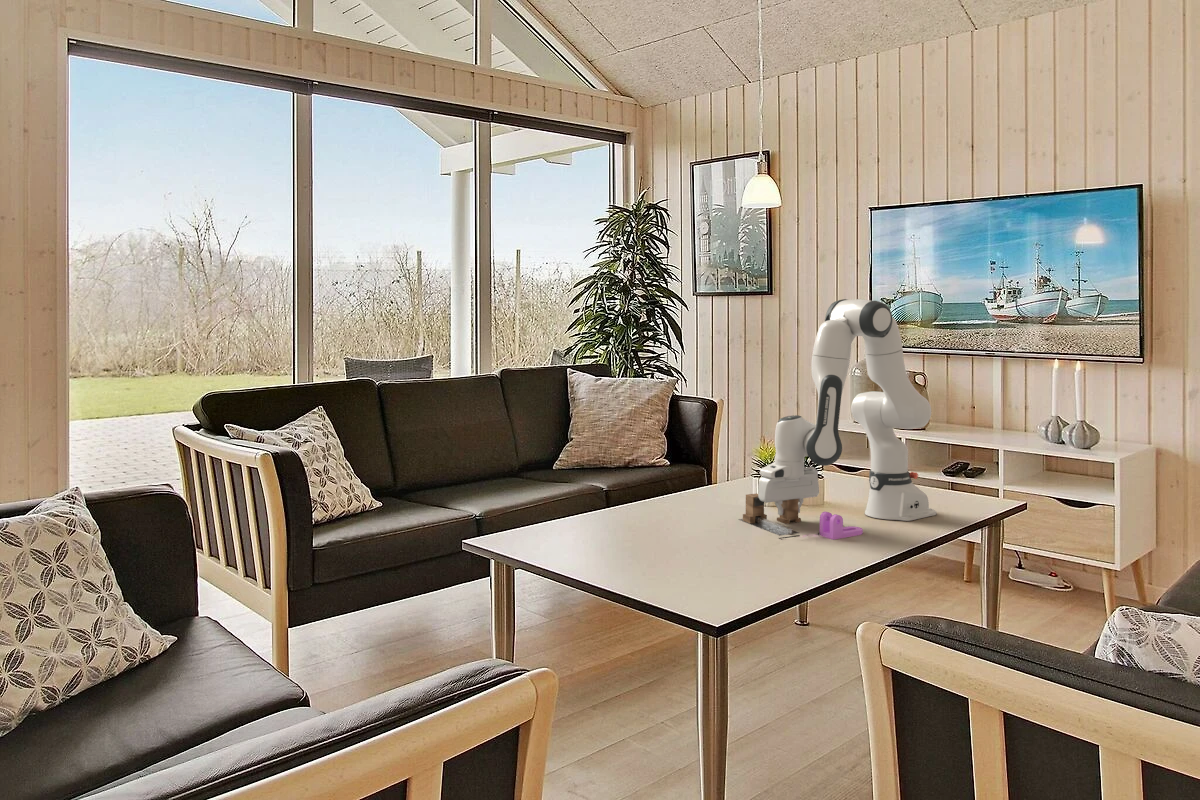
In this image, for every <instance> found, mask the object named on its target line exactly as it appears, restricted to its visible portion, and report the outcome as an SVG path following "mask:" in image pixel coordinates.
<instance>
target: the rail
mask: <svg viewBox="0 0 1200 800" xmlns="http://www.w3.org/2000/svg"><path fill="white" fill-rule="evenodd" d="M738 521H740V522H743V523H746V524H749V525H751V526H754V527H756V528H759V529H761V530H764V531H767V532H770V533H772V534H775V535H777V536H779V537H778V539H779V540H780V539H781V540H782V539H788V538H795V537H800V536H801V534H800V532H798V531H796V530H793V529H792V528H791V527H788V526H785V525H783V524H779V522H778V523H777V522H775V521H772V520H769V519H764V518H761V517H758V516H755V523H748V522H745V521H743V518H739V519H738ZM795 534H798V535H795ZM787 535H789V536H787ZM790 535H791V536H790ZM780 536H781V537H780Z"/></svg>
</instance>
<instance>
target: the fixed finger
mask: <svg viewBox="0 0 1200 800" xmlns="http://www.w3.org/2000/svg"><path fill="white" fill-rule="evenodd" d="M755 516H758V517H761V518H764V519H767V518H768V515H767V514H766V513H765V502H763V501H761V500H760V499H759V497H758V492H757V493H749V494H745V513H743V514H742V519H743V521H745V522H748V523H755ZM767 520H768V519H767ZM743 521H742V522H743ZM745 522H744V523H745ZM748 523H747V524H748Z"/></svg>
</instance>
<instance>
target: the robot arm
mask: <svg viewBox="0 0 1200 800" xmlns="http://www.w3.org/2000/svg"><path fill="white" fill-rule="evenodd" d="M899 329H900V328H899V326H898V322H897V321H896V319H895V318H894V317H893V314H892V311H891V308H890V307H889V306H888V305H887V304H886V303H884V302H882V301H878V300H870V299H864V298H862V299H861V298H857V299H846V298H845V299H839V300H836V301H834V302H832V303H831V304H830V305H829V306H828V308H827V310H826V314H825V318H824V321H823V322H822V323H821V324H820V325H819V327H818V330H817V333H816V336H815V340H814V342H813V343H814V344H813V348H812V354H811V363H810V364H811V365H810V366H811V367H810V369H811V371H810V372H811V378H812V381H813V384H814V386H815V388H816V392H817V397H818V401H817V412H816V420H815V421H816V422H815V423H813V422H811V421H809V420H807V419H805V418H804V417H803V416H801V415H797V414H796V415H787V416H784V417H781V418H780V419H778V421H777V422H776V425H775V431H774V447H775V454H774V462H772V463H770V464H768V465H766V466H764V467H761V469H759V474H760V476H761V477H760V478H759V480H758V487H757V494H758V497H759V499H760V500H761V501H763V502H764V503H774V504H775V506H776V508H777V515H779V516H780V515H785V509H783V508H782V506H781V504H782V501H784V500H793V499H798V514H800V513H801V507H802V505H803V503H804V499H808V498H809V499H810V498H815V497H818V496H819V494H820V484H819V478H818V476H819V475H818V473H819V472H818V470H817V469H816V468H815V467H814V466H808V467H807V466H805V457H808V459H809V460H810V461H811V462H812V463H813V464H815V465H817V466H821V467H822V466H823V467H824V466H825V467H826V466H830V465H833V464H834V463H836V462H837V461H838V460H839V459H840V457H841V455H842V452H843V445H842V441H841V437H840V435H839V434H840V433H839V424H840V420H839V419H840V412H841V406H842V405H841V404H842V396H843V391H844V389H845V384H846V381H847V376H848V372H849V369H850V368H849V367H850V362H851V353H852V344H853V341H854V339H855V338H856V337H862V339H863V343H864V354H865V364H866V372H867V376H868V378H869V379H870V381H872V382H873V383H875V384H876V385H878V386H879V387H880V388H881V390H882V391H873V390H872V391H864V392H861V393H857V394H856V395H855V397H854V398H853V399H852V401H851V407H850V412H851V415H852V418H853V419H854V420H855V422H857V423H858V424H859V425H860V426H861V427H862V429H863V430H864V433H865V435H866V436H867V437H866V438H867V439H868V443H869V449H870V470H869V475H868V479H869V480H868V481H869V491H868V499H867V503H866V507H865V511H864V515H866V516H868V517H870V518H875V519H880V520H893V521H894V520H896V521H904V522H906V521H907V522H911V521H913V520H914V521H915V520H919V519H924V518H927V517H931V516H932V517H933V516H936V515H937V514H938V513H937V511H936V510H935V509H933V508H930V506H929V505H930V503H929V498H928V496H927V495H928V494H926V493H925V492H924V491H923V490H922V489H920V488H919V487H918V486H917V485H915V484H914V483H913V481H912V480H913V479H915V480H917V479H918V478H919V473H918V472H914V471H911V472H910V471H908V469H909V468H908V466H909V465H908V463H909V462H908V461H909V460H908V459H909V458H908V457H909V449H908V446H907V445H906V443H905V442H903V441H902V440H901V439H899V438H898V437H897V435H896V434H895V431H894V429H902V430H903V429H904V430H913V429H920V428H921V429H923V428H924V427H926V425H927V424H928V423H929V422H930V419H931V417H932V406H931V404H930V401H929V400H928V399H927V398H926V397H924V396H923V395H922V394H920V393H919V391H918V390H917V389H916V388H915V387H914V385H913V384H912V382H911V381H910V379H909V377H908V374H907V370H906V366H905V359H904V358H905V357H904V352H903V350H904V349H903V342H902V338H901V332H900V330H899Z"/></svg>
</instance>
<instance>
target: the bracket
mask: <svg viewBox="0 0 1200 800" xmlns="http://www.w3.org/2000/svg"><path fill="white" fill-rule="evenodd" d="M863 531H864V530H863V527H859V526H849V525H848V526H844V518H843V516H842V515H840V514H832V513H831V512H828V511H822V512H821V514H820V515H819V535H818V536H820V537H823V538H826V539H829V540H837V539H844V538H848V537H856V536H861V535H863Z"/></svg>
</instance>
